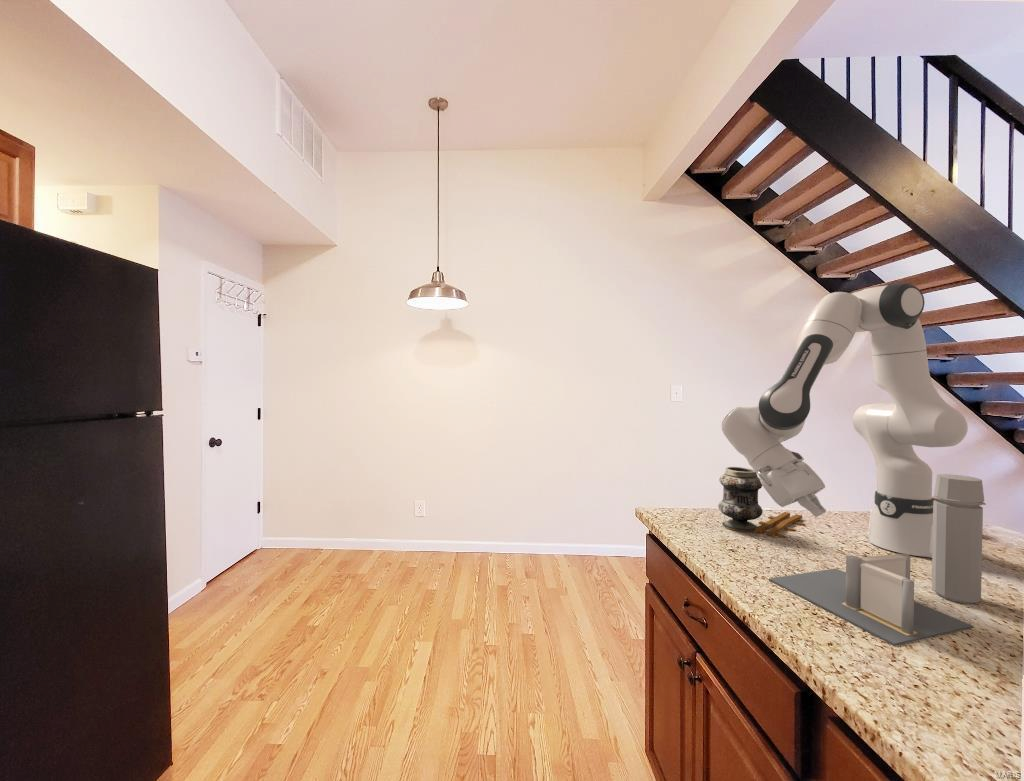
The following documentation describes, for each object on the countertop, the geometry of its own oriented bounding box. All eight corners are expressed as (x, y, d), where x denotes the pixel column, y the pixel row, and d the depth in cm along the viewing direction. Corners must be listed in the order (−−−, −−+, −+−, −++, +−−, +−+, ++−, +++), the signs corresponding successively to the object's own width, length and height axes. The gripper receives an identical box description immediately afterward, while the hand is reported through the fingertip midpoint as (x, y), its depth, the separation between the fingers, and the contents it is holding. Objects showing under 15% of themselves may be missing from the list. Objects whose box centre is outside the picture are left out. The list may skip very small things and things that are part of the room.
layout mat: (835, 569, 102) (835, 567, 102) (973, 627, 78) (973, 624, 78) (768, 580, 97) (768, 578, 97) (894, 646, 72) (894, 643, 72)
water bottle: (986, 610, 84) (988, 483, 83) (930, 597, 89) (932, 477, 89) (980, 593, 91) (982, 475, 90) (928, 581, 96) (930, 470, 95)
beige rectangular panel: (911, 600, 86) (912, 556, 86) (864, 605, 84) (865, 560, 84) (903, 596, 88) (904, 553, 88) (856, 601, 86) (857, 557, 86)
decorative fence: (745, 532, 129) (782, 541, 122) (745, 525, 129) (782, 534, 122) (776, 515, 146) (810, 523, 138) (776, 510, 146) (811, 517, 138)
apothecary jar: (770, 528, 131) (770, 470, 131) (749, 536, 124) (750, 474, 124) (731, 518, 141) (731, 463, 141) (710, 525, 134) (710, 467, 134)
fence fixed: (851, 604, 86) (852, 554, 86) (917, 635, 75) (918, 579, 75) (842, 605, 86) (843, 556, 85) (907, 638, 75) (908, 581, 75)
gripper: (765, 461, 97) (815, 515, 89) (802, 452, 109) (849, 499, 101) (744, 477, 100) (790, 530, 93) (782, 467, 112) (826, 513, 105)
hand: (821, 514), depth 97 cm, fingers closed
